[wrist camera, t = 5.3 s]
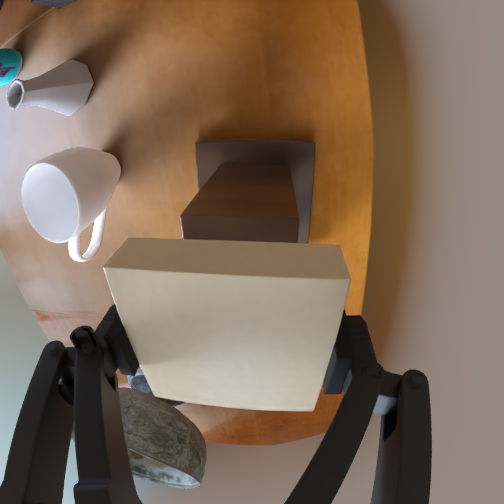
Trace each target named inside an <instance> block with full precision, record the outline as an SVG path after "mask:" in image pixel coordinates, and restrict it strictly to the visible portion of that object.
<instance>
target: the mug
mask: <svg viewBox="0 0 504 504" xmlns="http://www.w3.org/2000/svg"><path fill="white" fill-rule="evenodd" d="M120 174H121V168H120V164H119V162H118V160H117V158H116V157H115V156H113V155H112V154H110V153H107V152H103V151H99V150H95V149H91V148H83V147H77V148H71V149H67V150H63V151H61V152H58V153H56V154H53V155H51V156H48V157H46V158H44V159H41V160H39V161H38V162H36V163H34V164H33V165H32V166H31V167H30V168H29V169H28V171H27V172H26V174H25V177H24V179H23V183H22V203H23V207H24V210H25V213H26V216H27V218H28V220H29V222H30V223H31V225H32V226H33V228H34V229H35V230H36V231H37V232H38V233H39V234H40V235H41V236H42V237H44V238H45V239H47V240H49V241H52V242H56V243H63V242H67V241H69V253H70V256H71V257H72V258H73V259H74V260H76V261H81V262H82V261H88V260H90V259H91V258H93V257H94V256H95V254H96V253H97V252H98V250H99V248H100V245H101V241H102V237H103V231H104V224H105V216H106V206H107V205H108V203H109V201H110V199H111V197H112V195H113V192H114V190H115V187H116V185H117V183H118V180H119V178H120ZM94 220H95V223H94V229H93V235H92V240H91V243H90V246H89V248H88V250H87V251H86V253H85V254H84V255H81V253H80V237H81V232H82V231H83V230H84V229H85V228H87V227H88V226H89V225H90V224H91V223H92V222H93V221H94Z"/></svg>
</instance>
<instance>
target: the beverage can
mask: <svg viewBox="0 0 504 504" xmlns="http://www.w3.org/2000/svg"><path fill="white" fill-rule="evenodd" d="M21 67H22V56H21V54H20V53H19V52H18V51H16V50H14V49H12V48H9V49H0V86H3V85H6V84H8V83H9V82H11V81H12V80H14V79H15V78H16V77H17V76H18V74H19V72H20V70H21Z"/></svg>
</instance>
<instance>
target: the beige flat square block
mask: <svg viewBox="0 0 504 504" xmlns="http://www.w3.org/2000/svg"><path fill="white" fill-rule="evenodd" d="M103 268H104V271H105V275H106V278H107V281H108V284H109V287H110V290H111V293H112V296H113V299H114V302H115V305H116V307H117V310H118V313H119V316H120V318H121V321H122V324H123V326H124V328H125V331H126V333H127V336H128V338H129V341H130V343H131V345H132V348H133V350H134V352H135V355H136V357H137V359H138V362H139V364H140V367H141V369H142V371H143V373H144V375H145V377H146V380H147V382H148V384H149V386H150V388H151V390H152V392H153V394H154V396H155V397H160V398H165V399H171V400H177V401H183V402H189V403H196V404H203V405H211V406H219V407H229V408H240V409H253V410H272V411H314V408H315V405H316V402H317V399H318V396H319V394H320V391H321V388H322V384H323V380H324V377H325V374H326V370H327V367H328V364H329V361H330V357H331V354H332V350H333V347H334V343H335V342H336V338H337V334H338V331H339V327H340V323H341V319H342V315H343V311H344V307H345V303H346V299H347V295H348V291H349V286H350V282H351V278H350V275H349V272H348V269H347V266H346V263H345V260H344V257H343V254H342V251H341V248H340V246H339V245H331V244H307V243H282V242H255V241H226V240H194V239H158V238H128V239H127V240H126V241H125V242H124V243H123V245H122V246H121V247H120V248H119V249H118V250H117V251H116V252H115V254H114V255H113V256H112V257H111V258H110V259H109V260H108V262H107V263H106V264H105V265H104V266H103Z"/></svg>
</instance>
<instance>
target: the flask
mask: <svg viewBox="0 0 504 504" xmlns="http://www.w3.org/2000/svg"><path fill="white" fill-rule="evenodd" d="M93 83H94V82H93V80H92V77H91V75H90V72H89V70H88V67H87V65H86V64H83V63H81V62H78V61H75V60H72V59H71V60H69V61H67V62H65V63H63V64H61V65H59V66H57V67H56V68H54V69H52V70H50V71H48V72H46V73H44V74H42V75H41V76H38V77H36V78H33V79H30V80H25V81H22V80H20V79H15V80H14V81H13V82H12V83H11V85H10V86H9V88H8V92H7V95H6V101H7V104H8V107H9V108H11V109H12V110H14V111H16V110H18V109H19V108H20V107H21V106H26V105H34V106H41V107H44V108H47V109H51V110H54V111H56V112H59V113H61V114H64V115H67V116H71V115H72V114H74V113H75V112H76V111H77V110H78V109H80V108H81V107H82V106H83V105H85V103H86V100H87V98H88V95H89V93H90V90H91V88H92V86H93Z"/></svg>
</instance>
